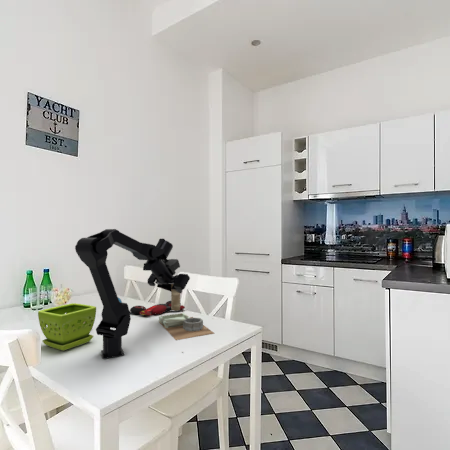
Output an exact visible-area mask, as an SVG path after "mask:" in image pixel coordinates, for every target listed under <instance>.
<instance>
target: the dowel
mask: <svg viewBox="0 0 450 450" xmlns="http://www.w3.org/2000/svg"><path fill="white" fill-rule="evenodd" d="M172 286H173V284H171V288H172ZM170 294H171V295H170V297H171V298H170V299H171V300H170V301H171V310H173V311H174V312H175V311H181V310H180V303H181V293H178V292H176V291H174V290H172V289H171V291H170Z"/></svg>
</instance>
